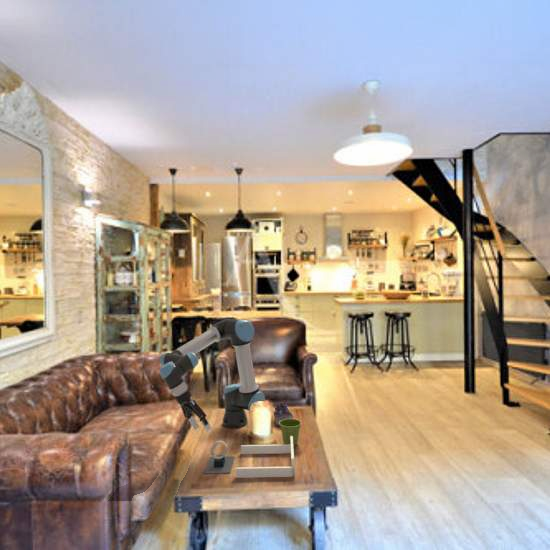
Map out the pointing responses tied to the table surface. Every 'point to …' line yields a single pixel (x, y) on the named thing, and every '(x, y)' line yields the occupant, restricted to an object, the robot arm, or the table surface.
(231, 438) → the table surface
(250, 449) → the shelf lane
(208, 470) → the mat
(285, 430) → the plant pot
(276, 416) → the geode
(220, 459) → the watch
